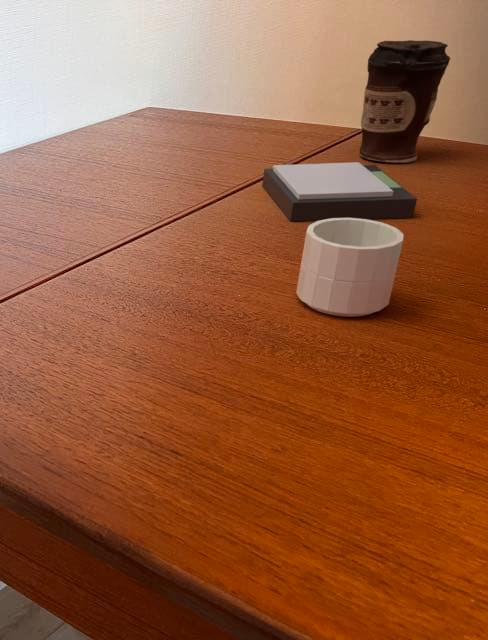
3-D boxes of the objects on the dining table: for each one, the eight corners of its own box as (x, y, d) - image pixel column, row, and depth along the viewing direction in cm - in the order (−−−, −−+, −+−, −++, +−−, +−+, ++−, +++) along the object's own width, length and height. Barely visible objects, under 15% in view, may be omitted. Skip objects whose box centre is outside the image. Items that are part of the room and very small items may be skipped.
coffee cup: (399, 171, 99) (426, 52, 92) (334, 158, 105) (354, 45, 98) (439, 156, 103) (467, 40, 97) (374, 144, 109) (396, 34, 103)
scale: (371, 182, 97) (376, 159, 95) (412, 217, 86) (418, 192, 85) (261, 186, 98) (265, 163, 96) (290, 221, 88) (294, 196, 86)
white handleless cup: (370, 283, 74) (384, 216, 71) (401, 319, 68) (418, 247, 65) (286, 285, 74) (296, 219, 71) (309, 321, 68) (322, 249, 65)
